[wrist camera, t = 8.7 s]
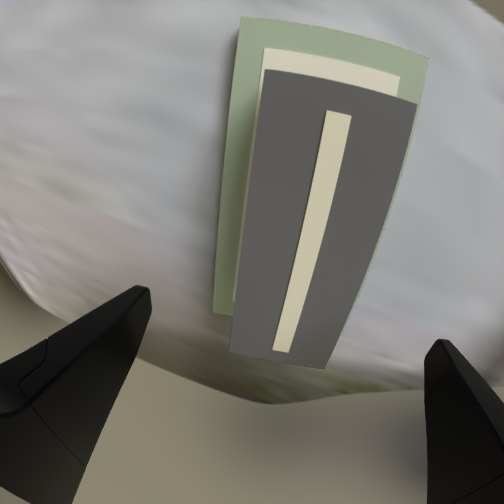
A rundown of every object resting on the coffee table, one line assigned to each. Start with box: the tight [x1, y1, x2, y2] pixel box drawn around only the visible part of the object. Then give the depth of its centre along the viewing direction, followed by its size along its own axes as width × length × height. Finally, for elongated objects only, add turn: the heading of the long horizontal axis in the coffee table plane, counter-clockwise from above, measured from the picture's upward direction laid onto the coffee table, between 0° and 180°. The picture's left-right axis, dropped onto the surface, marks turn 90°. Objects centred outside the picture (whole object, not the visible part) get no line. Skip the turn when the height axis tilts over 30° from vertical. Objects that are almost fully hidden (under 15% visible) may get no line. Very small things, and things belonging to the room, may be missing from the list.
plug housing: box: [229, 69, 418, 369], centre depth 14 cm, size 5×13×5 cm, turn 173°
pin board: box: [212, 17, 429, 336], centre depth 16 cm, size 9×18×4 cm, turn 173°
